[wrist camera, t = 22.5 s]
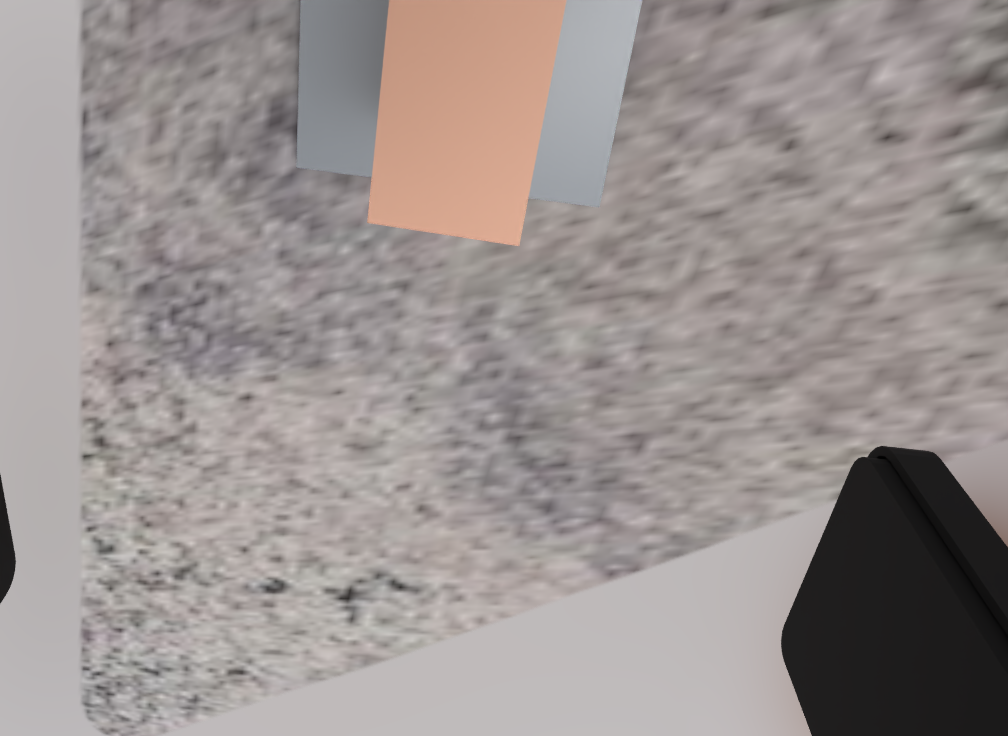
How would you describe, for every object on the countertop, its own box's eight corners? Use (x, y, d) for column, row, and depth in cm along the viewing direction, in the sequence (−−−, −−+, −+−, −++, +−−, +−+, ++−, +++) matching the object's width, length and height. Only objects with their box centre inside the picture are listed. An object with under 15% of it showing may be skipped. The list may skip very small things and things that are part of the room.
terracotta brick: (413, -96, 29) (397, -86, 24) (560, -68, 29) (576, -52, 24) (385, 166, 33) (367, 222, 28) (513, 186, 34) (519, 246, 29)
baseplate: (310, -196, 33) (305, -197, 32) (665, -136, 35) (670, -136, 34) (300, 161, 40) (296, 167, 39) (596, 200, 42) (599, 207, 41)
